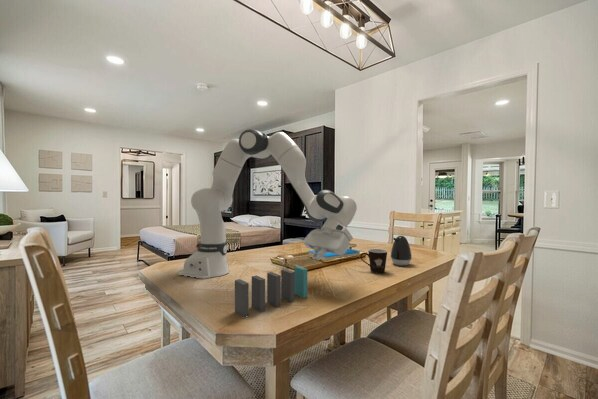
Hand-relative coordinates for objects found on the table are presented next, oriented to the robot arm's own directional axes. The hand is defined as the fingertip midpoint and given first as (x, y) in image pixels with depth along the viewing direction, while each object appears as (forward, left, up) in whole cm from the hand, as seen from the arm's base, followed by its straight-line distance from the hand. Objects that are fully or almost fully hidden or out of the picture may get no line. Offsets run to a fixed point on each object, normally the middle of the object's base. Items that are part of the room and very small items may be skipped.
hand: (315, 258), depth 103 cm
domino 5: (-5, -5, -12) cm, 14 cm away
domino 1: (-20, -24, -12) cm, 33 cm away
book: (+5, +57, -13) cm, 59 cm away
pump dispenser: (+40, +46, -12) cm, 63 cm away
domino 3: (-12, -15, -12) cm, 23 cm away
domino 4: (-8, -10, -12) cm, 18 cm away
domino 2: (-16, -19, -12) cm, 28 cm away
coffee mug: (+25, +31, -12) cm, 42 cm away
